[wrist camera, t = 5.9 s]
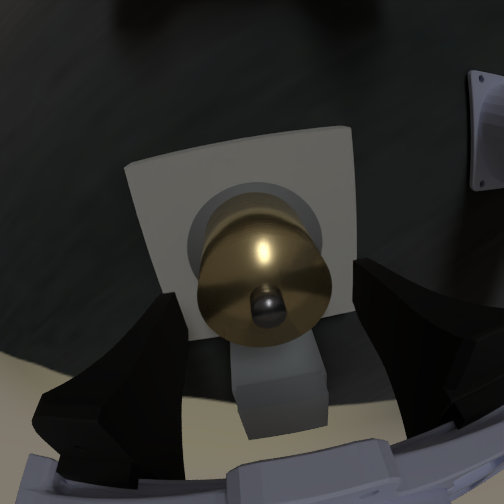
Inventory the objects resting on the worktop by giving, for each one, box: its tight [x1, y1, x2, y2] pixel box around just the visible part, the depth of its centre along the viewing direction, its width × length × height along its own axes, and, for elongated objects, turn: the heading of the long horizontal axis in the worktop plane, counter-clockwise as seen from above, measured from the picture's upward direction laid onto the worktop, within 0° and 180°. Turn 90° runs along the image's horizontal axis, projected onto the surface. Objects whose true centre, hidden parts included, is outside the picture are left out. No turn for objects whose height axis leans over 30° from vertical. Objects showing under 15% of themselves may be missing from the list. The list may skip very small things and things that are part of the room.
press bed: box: [124, 126, 357, 440], centre depth 15 cm, size 11×14×7 cm
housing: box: [197, 192, 332, 347], centre depth 13 cm, size 5×5×6 cm
